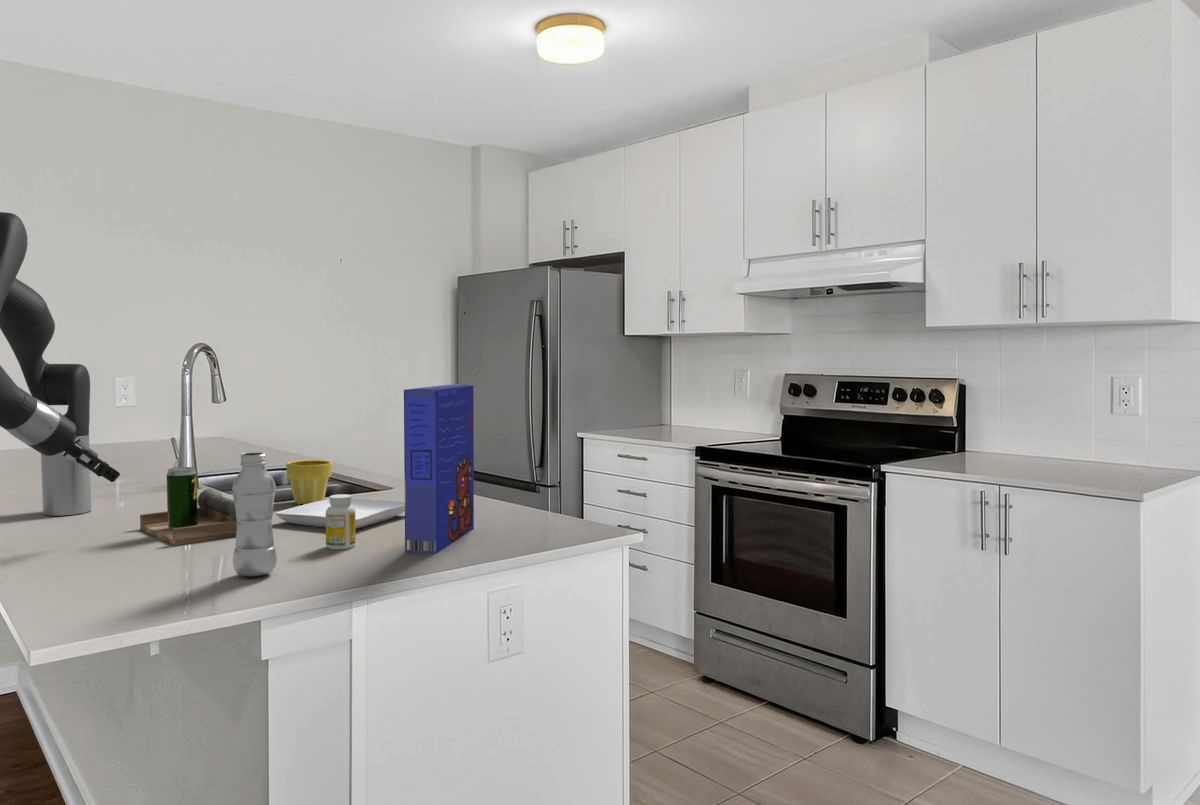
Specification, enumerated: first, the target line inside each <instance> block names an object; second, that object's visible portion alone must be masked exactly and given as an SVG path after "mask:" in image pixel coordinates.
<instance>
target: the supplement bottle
mask: <svg viewBox="0 0 1200 805" xmlns="http://www.w3.org/2000/svg"><path fill="white" fill-rule="evenodd" d="M352 498H353V497H352V495H351V494H343V493H342V494H338V493H337V494H332V495H330V496H329V497H328V499H329V503H330V504H331V506H330V507H328V508H327V510H326V527H325V546H326V548H327V549H328V550H336V551H337V550H347V549H348V550H349V549H352V548H353V547H355V546H356V541H357V540H356V537H357V536H356V529H355V508H354V507H353V506H350V504H351V502H352Z"/></svg>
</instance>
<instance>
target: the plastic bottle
mask: <svg viewBox="0 0 1200 805" xmlns="http://www.w3.org/2000/svg"><path fill="white" fill-rule="evenodd" d="M239 464H240V466H241V467H242V469H241V470H240V471H239V473H238V474H237V475H236V478H235V479H234V481H233V483H232V487H231V488H232V489H231V490H232V496H233V500H234V503H235V509H236V519H237V522H236V523H237V532H236V537H235V545H234V547H235V548H234V550H233V556H232V565H233V570H234V572H235V573H236V574H237V575H239V576H242V577H253V578H254V577H261V576H263V575H268V574H270V573H272V572H273V571H274V569H275V568H276V567H277V566H276V565H277V559H278V558H277V551H276V546H275V545H274V544H275V543H274V532H273V531H274V530H273V514H274V513H273V512H274V502H275V496H276V489H277V488H276V487H277V486H276V482H275V478H273V476H272V475H271V473H270V472H269V471H268V470H267V469H266V467H265V465H267V459H266V453H265V452H244V453H241V454H240V462H239Z"/></svg>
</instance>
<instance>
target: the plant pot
mask: <svg viewBox="0 0 1200 805" xmlns="http://www.w3.org/2000/svg"><path fill="white" fill-rule="evenodd" d="M332 462H333V461H329V460H322V459H300V460H293V461H288V462H287V463H286V477H287V478H288V479H289V483H290V487H291V491H292V495H293V500H294V504H296V503H298V504H297V505H300V504H309V503H313V502H317V501H322V500H326V498H325V497H326V493H327V488H328V483H329V479H330V477H332V474H333V463H332Z"/></svg>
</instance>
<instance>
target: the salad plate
mask: <svg viewBox="0 0 1200 805" xmlns="http://www.w3.org/2000/svg"><path fill="white" fill-rule="evenodd" d="M330 506H331V504H330V503H329V498H328V499H324V500H322V501H317V502H313V503H309V504H305V505H297V506H294V507H290V508H287V509H283V510H278V511H275V515H276V516H277V517H278V518H279V519H281V520H283V521H285V522H287V523H291V524H295V525H299V526H308V527H319V528H326V510H327V508H328V507H330ZM350 506H353V507H354V508H355V530H356V529H361V528H365V527H369V526H371V525H375V524H377V523H381V522H385V521H387V520H390V519H393V518H394V517H397V516H399V515H402V514H403V513H405V500H393V499H384V498H383V499H380V498H365V497H364V498H363V497H352V502H351V504H350Z"/></svg>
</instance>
